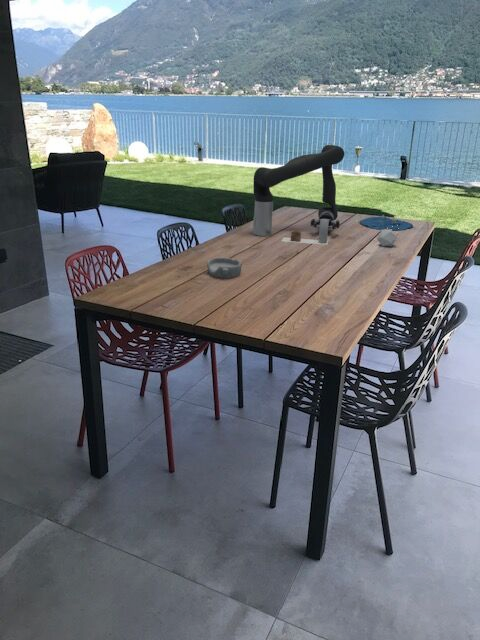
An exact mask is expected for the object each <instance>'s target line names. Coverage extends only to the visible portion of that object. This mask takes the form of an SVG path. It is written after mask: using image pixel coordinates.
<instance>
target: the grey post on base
mask: <svg viewBox="0 0 480 640" xmlns="http://www.w3.org/2000/svg"><path fill="white" fill-rule="evenodd" d="M328 224H329V220H328V219H320V227H319V232H318V239H310V238H309V239H307V238H301V240H300V242H296V241H291V237H282V239H281V242H286V243H298V244H300V243H301V244H311V245H312V244H313V245H326V246H327V245H328V244H329V240H328V235H329V232H328V231H329V228H328Z"/></svg>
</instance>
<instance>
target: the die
mask: <svg viewBox="0 0 480 640" xmlns="http://www.w3.org/2000/svg"><path fill="white" fill-rule="evenodd" d="M397 239H398V235H396V234H395V232H394V230H380V232H379V235H378V236H377V238H376V240H377V241H378V242H379V244H380V245H381V247H393V245H395V242H396V240H397Z"/></svg>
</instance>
